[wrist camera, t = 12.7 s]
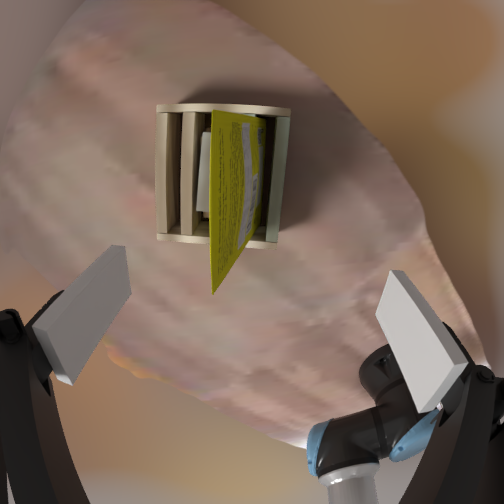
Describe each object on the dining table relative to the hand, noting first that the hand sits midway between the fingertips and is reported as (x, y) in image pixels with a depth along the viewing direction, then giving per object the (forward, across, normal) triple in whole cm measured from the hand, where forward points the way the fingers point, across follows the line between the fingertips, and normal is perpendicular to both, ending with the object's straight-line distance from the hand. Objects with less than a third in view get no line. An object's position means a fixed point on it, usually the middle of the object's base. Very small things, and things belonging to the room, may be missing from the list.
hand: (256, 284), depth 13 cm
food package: (+29, 0, -1) cm, 29 cm away
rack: (+29, +6, -1) cm, 29 cm away
